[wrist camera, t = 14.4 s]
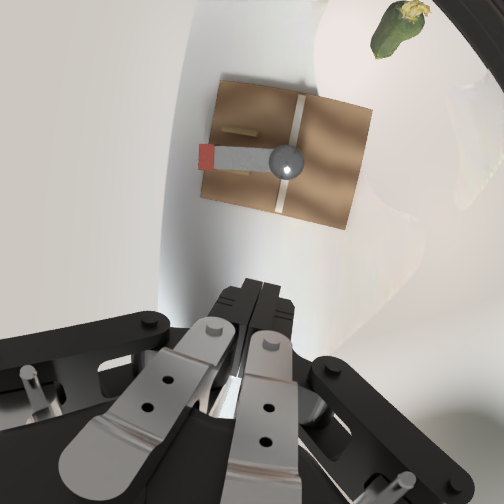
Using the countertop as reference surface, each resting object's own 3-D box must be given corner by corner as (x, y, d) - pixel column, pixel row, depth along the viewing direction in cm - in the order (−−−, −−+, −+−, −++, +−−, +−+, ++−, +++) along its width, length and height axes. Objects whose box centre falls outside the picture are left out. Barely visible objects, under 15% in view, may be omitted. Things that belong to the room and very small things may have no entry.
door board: (344, 228, 46) (346, 234, 43) (202, 195, 49) (195, 199, 45) (371, 110, 40) (375, 108, 37) (222, 81, 42) (216, 77, 39)
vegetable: (364, 37, 36) (393, -25, 18) (391, 37, 35) (435, -20, 17) (370, 63, 37) (406, 13, 19) (397, 63, 37) (448, 18, 18)
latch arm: (306, 146, 40) (305, 146, 37) (303, 178, 42) (302, 181, 38) (206, 140, 42) (198, 140, 39) (205, 171, 44) (197, 173, 40)
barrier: (535, 88, 31) (568, 83, 22) (512, 109, 34) (546, 107, 25) (453, -23, 28) (475, -47, 19) (424, -8, 31) (444, -33, 22)
